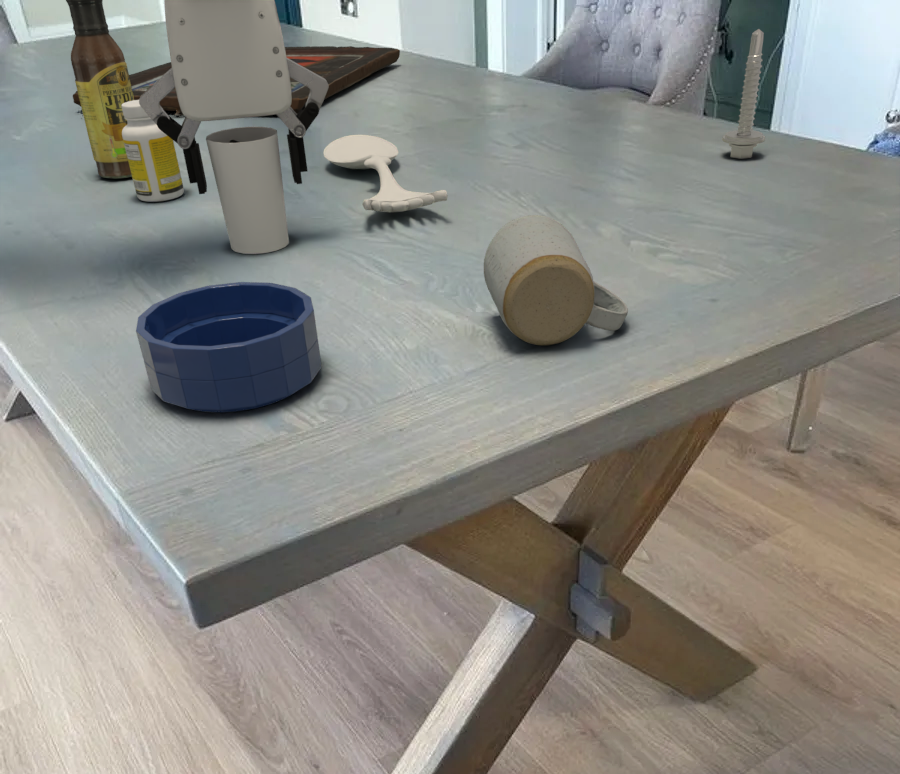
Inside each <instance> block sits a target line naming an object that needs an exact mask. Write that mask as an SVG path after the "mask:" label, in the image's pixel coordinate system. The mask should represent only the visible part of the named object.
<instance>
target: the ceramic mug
mask: <svg viewBox="0 0 900 774" xmlns="http://www.w3.org/2000/svg"><path fill="white" fill-rule="evenodd" d="M483 277H484V282H485V285H486V288H487V291H488V292H489V294H490V297H491V299H492V301H493V303H494V305H495V307H496V309H497V311H498V314H499V316H500V318H501V320H502V322H503V324H504V325H505V327H507V329H508V330H509V331H510V332H511V333H512V334H513V335H514V336H515V337H517V338H518V339H520V340H522V341H523V342H525V343H526V344H527V343H528V344H532V345H535V346H552V345H556V344H560V343H563V342H566V341H567V340H569V339H570V338H572V337H574V336H576V334H577V333H578V332H580V330H581V329H583V327H584V326H585V325H588V326H591V327H593V328H596V329H599V330H600V329H601V330H604V331H608V332H609V331H613V332H614V331H617V330H619V329H620V328H621V327H622V326H623V324H624V322H625V319H626V317H627V316H628V314H629V308H628V305H627V304H626V303H625V302H624V301H623V300H622V299H621V298H620V296H618V295H617V294H615V292H613V291H611V290H610V289H608V288H606V287H605V286H603V285H602V284H599V283H598V282H596V281H595V280H594V278H593V273H592V272H591V269H590V267H589V265H588V263H587V261H586V260H585V258H584V256H583V254H582V252H581V249H580V247H579V245H578V243H577V241H576V240H575V238H574V236H573V234H572V233H571V232H570V231H569V229H568V228H566V227H565V226H564V225H563V223H561V222H559V221H558V220H556V219H553V218H551V217H549V216H546V215H540V214H529V215H524V216H520V217H518V218H517V217H516V218H515V219H512V220H511V221H509V222H507V223H505V224H504V225H503V226H502V227H501V228H500V229H499V230H497V232H496V233H495V235H494V236H493V237H492V239H491V241H490V242H489V244H488V246H487V249H486V250H485V254H484V257H483Z"/></svg>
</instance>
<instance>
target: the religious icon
mask: <svg viewBox="0 0 900 774" xmlns="http://www.w3.org/2000/svg"><path fill="white" fill-rule="evenodd" d="M285 52H286V57H287V58H288V59H290V60H292V61H294V62H296V63H297V64H299V65H301V66H303V67H305V68H306V69H308V70H310V71H312V72H314V73H315V74H317V75H319V76H321V77H322V78H324V79H325V80H326V81H327V83H328V86H329V87H328V91H327V93H326V96H325V98H324V100H326V99H329V98H330V97H332V96H334V95H335V94H338V93H339V92H341V91H344V90H346V89H348V88H349V87H352V86H353V85H354V84H356V83H359V82H360V81H361V80H364V79H365V78H368V77H369V76H371V75H372V74H374V73H377V72H379V71H380V70H382V69H384V68H386V67H389V66H391V65H394V64H395V63H397V62H398V60H399V58H400V55H401V50H400V49H398V48H395V47H394V48H393V47H371V46H362V47H361V46H359V47H358V46H351V45H349V46H333V45H332V46H331V45H327V46H325V45H324V46H322V45H321V46H318V45H317V46H316V45H314V46H309V45H308V46H285ZM171 68H172V64H171V61H169V62H165V63H163V64H159V65H157V66H153V67H150V68H149V67H148V68H146V69H143V70H141V71H138V72H135V73H132V74H129V78H130V83H131V88H132V92H133V97H134V100H139V99H140V96H141V95H142V94H143V93H144V92H145V91H146V90H147V89H149V88H150V87H151V86H152V85H153V84H154V83H155V82H156V81H158V80H159V79H160V78H161V77H162V76H163V75H164V74H165V73H166V72H168V71H169V70H170V69H171ZM290 83H291V96H292V102H291V106H290V107H291V108H292V109H293V110H294V112H295V113H296V114H298V113H299V111H300V110H301V109H302V107H303V106H304V104H305V103H306V102H307V99H308V97H309V94H310V89H309V88H308V87H307V86H305V85H303V84H301V83H299V82H297V81H296V80H294V79H292V78H290ZM72 99H73V103H74V104H75V105H78V106H79V107H80V108H81V103H80V99H79V95H78V91H77V90H76V91H75V92H74V93H73V94H72ZM160 106H161V107H162V108H163V110H164V111H171V112H175V113H174V115H175V116H184V115H183V113H182V111H181V108H180V105H179V101H178V97H177V93H176V88H174V89H173V90H172V91H171V92H170V93H169V94H168V95H166V96H165V97H164V98H163V99H162V100H161V101H160Z"/></svg>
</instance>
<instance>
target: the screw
mask: <svg viewBox="0 0 900 774" xmlns="http://www.w3.org/2000/svg"><path fill="white" fill-rule="evenodd" d="M764 34H765V33H764V31H762V30H761V29H760V28H758V29H756V30H754V31H753V32H752V34H751V37H750V45H749V53H748V56H746V58H747V61H746V62H745V65H746V66H745V67H746V68H745V69H744V71H745V73H744V75H743V76H744V80H743V81H742V82H743V86H742V92H741V95H742V97H741V98H740V100H741V103H740V104H739V105H740V109H739V112H740V114H739V115H738V117H739V119H738V120H737V123H738V126H737V129H735V130H730V131H726V133H725V134H723V135H722V138H721V140H722V142H724V143H726V144H728V146H729V147H730V148H731V150H730V156H729V157H730V158H733V159H737V160H744V159H745V160H746V159H751V158H753V153H754V148H755V147H757V146H758V144H759V145H760V144H762V143H764V142H765V141H766V136H765V135H764V133H763V132H761V131H758V130H754V128H753V126H754V125H755V123H754V120H756V117H754V116H755V115H756V111H755V110H756V109H757V105H756V103H758V100H757V98H758V97H759V95H758V94H757V93H758V92H759V91H760V89H759V88H758V87H759V86H760V84H761V83H759V82H760V81H759V80H761V77H760V74H761V73H762V71H761V69H762V68H763V65H762V62H763V58H762V56H763V55H764V54H763V53H762V52H763V43H764V36H765V35H764Z"/></svg>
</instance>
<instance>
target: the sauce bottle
mask: <svg viewBox="0 0 900 774" xmlns="http://www.w3.org/2000/svg"><path fill="white" fill-rule="evenodd" d="M65 2H66V4H67V6H68V9H69V13H70V18H71V20H72V25H73V26H72V29H73V32H74V35H75V37H74V40H73V44H72V48H71V52H70V63H71V66H72V70H73V74H74V82H75V87H76V91H78V95H79V99H80V103H81V107H80V108H81V111H82V115H83V116H82V117H83V120H84V124H85V127H86V128H85V129H86V132H87V137H88V141H89V145H90V149H91V152H92V157H93V160H94V161H95V164H96V170H97V173H98V175H99V177H101V178H103V179H104V178H105V179H126V178H132V174H131V170H130V166H129V162H128V158H127V154H126V150H125V146H124V142H123V137H122V130H123V128H124V127H125V126H126V125H127V124H128V122H127V120H126V119H125V118H124V115H123V111H122V106H121V105H122V104H123V103H125V102H128V101H133V100H134V97H133V92H132V88H131V83H130V78H129V75H130V73H129V69H128V63H127V62H126V58H125V55H124V52H123V49H121V47H120V46H119V44H118V43H117V42H116V41H115V40H114V38H113V37H112V36H111V35H110V30H109V26H108V23H107V19H106V15H105V10H104V6H103V5H104V4H103V0H65Z"/></svg>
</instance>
